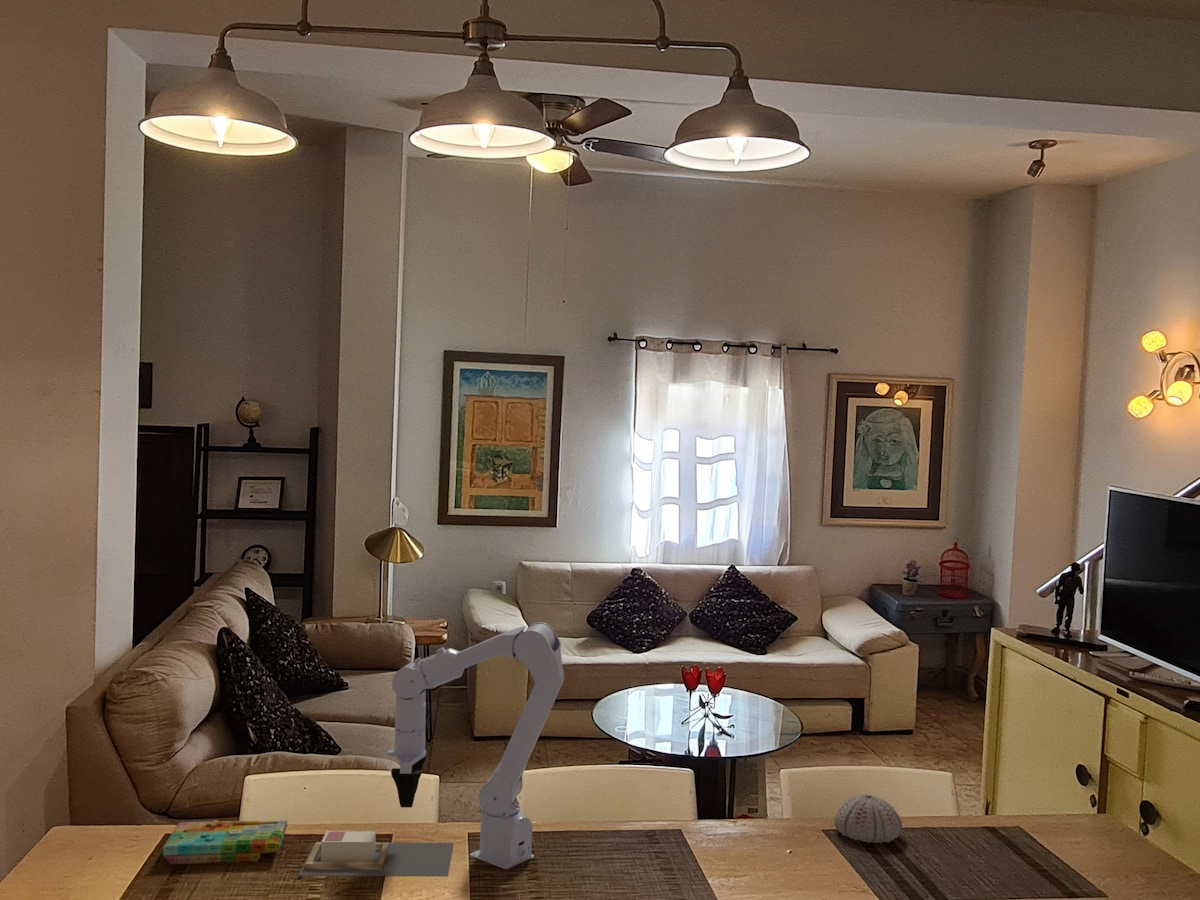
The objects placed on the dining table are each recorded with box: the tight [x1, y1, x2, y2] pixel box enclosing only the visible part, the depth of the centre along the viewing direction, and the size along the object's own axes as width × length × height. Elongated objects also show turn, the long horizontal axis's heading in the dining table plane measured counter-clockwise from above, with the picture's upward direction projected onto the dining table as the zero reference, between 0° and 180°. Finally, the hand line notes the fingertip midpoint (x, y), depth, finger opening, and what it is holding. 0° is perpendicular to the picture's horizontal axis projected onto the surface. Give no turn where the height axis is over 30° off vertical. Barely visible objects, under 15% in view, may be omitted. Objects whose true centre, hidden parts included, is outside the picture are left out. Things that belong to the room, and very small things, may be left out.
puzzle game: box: [161, 819, 288, 865], centre depth 195 cm, size 12×5×20 cm
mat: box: [298, 841, 455, 879], centre depth 193 cm, size 26×15×1 cm, turn 94°
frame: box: [304, 841, 389, 870], centre depth 193 cm, size 14×10×1 cm
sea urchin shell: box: [834, 794, 903, 844], centre depth 214 cm, size 13×14×8 cm
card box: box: [320, 830, 377, 862], centre depth 193 cm, size 9×5×4 cm, turn 94°
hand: (408, 799), depth 199 cm, fingers open, 7 cm apart
